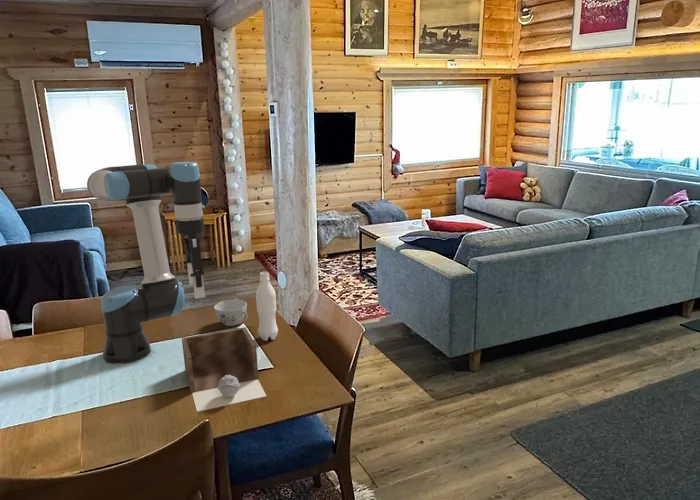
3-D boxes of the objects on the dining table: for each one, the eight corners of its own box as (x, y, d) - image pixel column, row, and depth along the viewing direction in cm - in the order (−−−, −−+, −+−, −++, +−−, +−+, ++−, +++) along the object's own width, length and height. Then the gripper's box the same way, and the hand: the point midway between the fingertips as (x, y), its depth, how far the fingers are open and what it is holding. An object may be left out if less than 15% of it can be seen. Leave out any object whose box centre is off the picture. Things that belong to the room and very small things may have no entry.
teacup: (208, 325, 208) (207, 306, 206) (232, 315, 218) (231, 297, 216) (235, 333, 199) (233, 313, 197) (259, 323, 209) (257, 303, 207)
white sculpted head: (217, 404, 148) (215, 381, 146) (219, 391, 155) (217, 369, 153) (240, 401, 149) (238, 379, 147) (241, 389, 156) (239, 367, 154)
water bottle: (281, 335, 197) (277, 270, 191) (272, 343, 190) (268, 276, 184) (264, 333, 199) (260, 269, 193) (255, 340, 193) (250, 275, 186)
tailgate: (192, 397, 155) (197, 416, 145) (192, 393, 154) (196, 411, 145) (258, 383, 162) (266, 400, 152) (257, 379, 162) (266, 395, 152)
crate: (191, 397, 155) (187, 358, 152) (185, 374, 169) (181, 338, 166) (258, 383, 162) (256, 345, 159) (248, 362, 176) (245, 327, 173)
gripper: (209, 224, 138) (216, 301, 143) (197, 210, 160) (204, 277, 166) (179, 227, 135) (188, 306, 141) (171, 212, 158) (179, 280, 163)
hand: (196, 290), depth 153 cm, fingers open, 13 cm apart
